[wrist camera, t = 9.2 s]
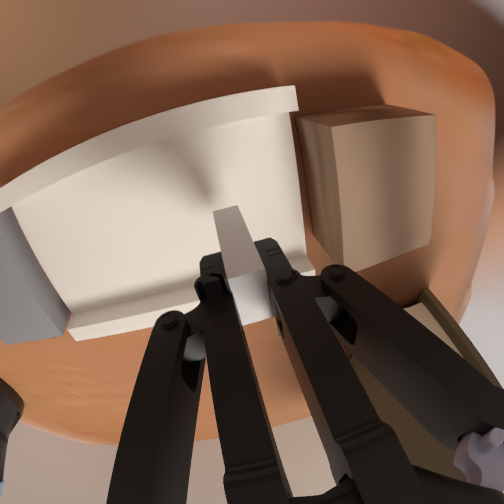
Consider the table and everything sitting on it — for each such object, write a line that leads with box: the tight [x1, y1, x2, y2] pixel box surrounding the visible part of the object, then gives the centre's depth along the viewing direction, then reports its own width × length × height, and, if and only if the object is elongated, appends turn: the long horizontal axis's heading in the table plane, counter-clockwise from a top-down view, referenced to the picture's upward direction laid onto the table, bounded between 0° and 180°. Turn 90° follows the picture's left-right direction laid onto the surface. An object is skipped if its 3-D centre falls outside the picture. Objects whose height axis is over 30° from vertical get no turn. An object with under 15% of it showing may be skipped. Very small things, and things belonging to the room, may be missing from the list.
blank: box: [295, 104, 437, 272], centre depth 18 cm, size 8×10×6 cm
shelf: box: [0, 85, 316, 341], centre depth 19 cm, size 22×15×3 cm
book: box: [349, 289, 503, 482], centre depth 25 cm, size 22×9×28 cm, turn 175°
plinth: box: [0, 207, 71, 345], centre depth 18 cm, size 10×13×3 cm
